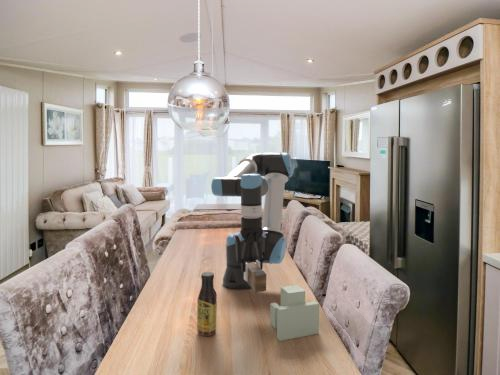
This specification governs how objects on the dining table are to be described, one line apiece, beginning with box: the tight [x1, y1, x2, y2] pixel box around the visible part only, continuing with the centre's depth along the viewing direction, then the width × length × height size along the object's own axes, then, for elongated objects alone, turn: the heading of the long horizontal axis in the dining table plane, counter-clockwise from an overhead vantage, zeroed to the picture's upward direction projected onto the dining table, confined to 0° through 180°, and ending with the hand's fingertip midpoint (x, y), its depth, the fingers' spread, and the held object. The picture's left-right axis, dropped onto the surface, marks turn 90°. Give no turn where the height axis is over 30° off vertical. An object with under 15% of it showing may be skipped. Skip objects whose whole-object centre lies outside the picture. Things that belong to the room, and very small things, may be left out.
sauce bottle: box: [196, 271, 218, 337], centre depth 115 cm, size 7×6×20 cm
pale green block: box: [269, 284, 320, 342], centre depth 118 cm, size 12×14×14 cm
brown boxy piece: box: [246, 262, 267, 293], centre depth 128 cm, size 12×4×6 cm, turn 21°
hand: (252, 278), depth 130 cm, fingers closed on brown boxy piece, 4 cm apart
